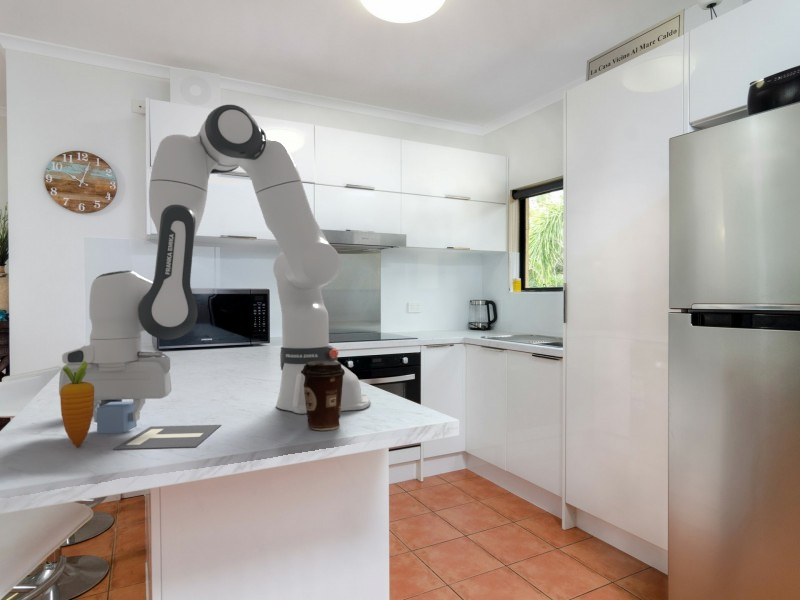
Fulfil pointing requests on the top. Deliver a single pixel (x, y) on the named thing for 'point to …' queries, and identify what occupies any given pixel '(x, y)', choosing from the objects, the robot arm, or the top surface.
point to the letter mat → (169, 437)
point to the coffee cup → (323, 394)
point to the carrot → (77, 405)
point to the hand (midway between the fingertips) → (117, 421)
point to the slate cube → (115, 417)
